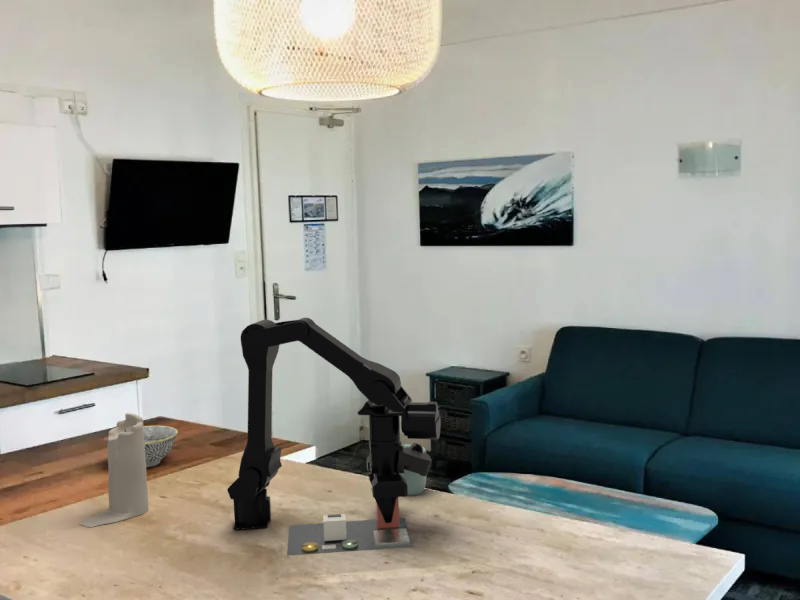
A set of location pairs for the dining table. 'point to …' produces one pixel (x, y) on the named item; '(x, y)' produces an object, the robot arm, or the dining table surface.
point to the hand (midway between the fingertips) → (387, 518)
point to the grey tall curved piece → (125, 473)
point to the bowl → (158, 443)
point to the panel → (358, 538)
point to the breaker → (334, 527)
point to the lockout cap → (395, 518)
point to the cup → (414, 479)
